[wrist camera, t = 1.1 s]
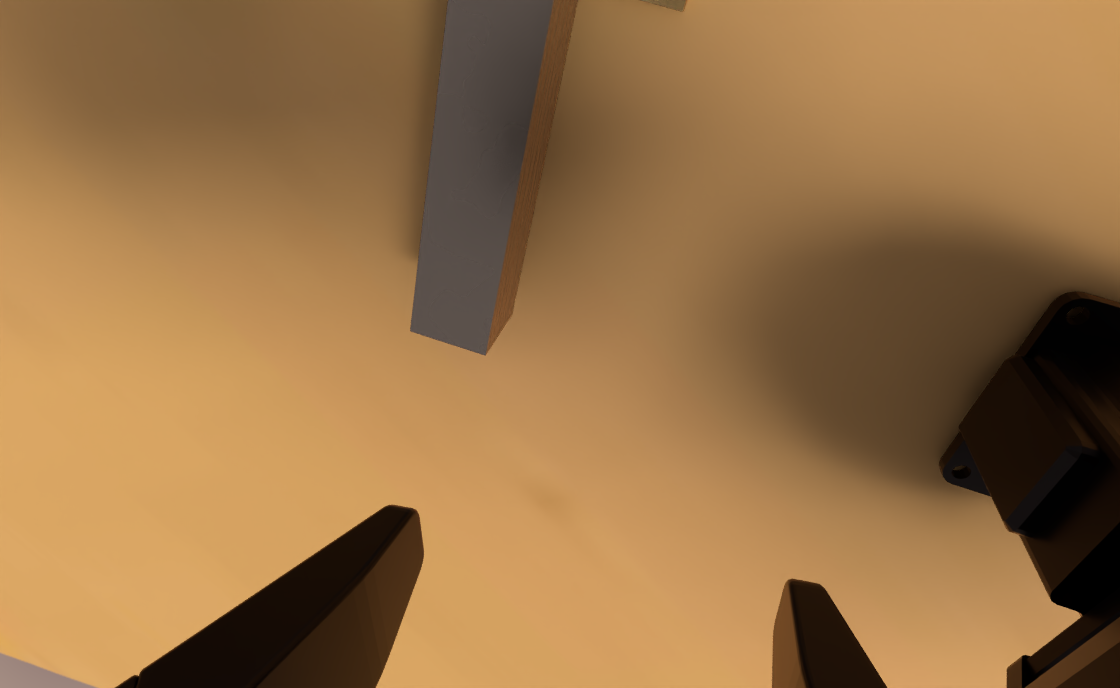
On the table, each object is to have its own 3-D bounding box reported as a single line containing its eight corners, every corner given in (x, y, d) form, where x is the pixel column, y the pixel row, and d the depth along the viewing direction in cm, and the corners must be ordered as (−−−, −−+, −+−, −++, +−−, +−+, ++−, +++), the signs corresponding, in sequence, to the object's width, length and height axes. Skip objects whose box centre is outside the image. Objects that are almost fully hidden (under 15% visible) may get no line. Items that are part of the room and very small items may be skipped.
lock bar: (492, -334, 13) (440, -397, 11) (687, -289, 13) (676, -344, 10) (419, 281, 21) (379, 321, 18) (542, 320, 20) (516, 365, 18)
